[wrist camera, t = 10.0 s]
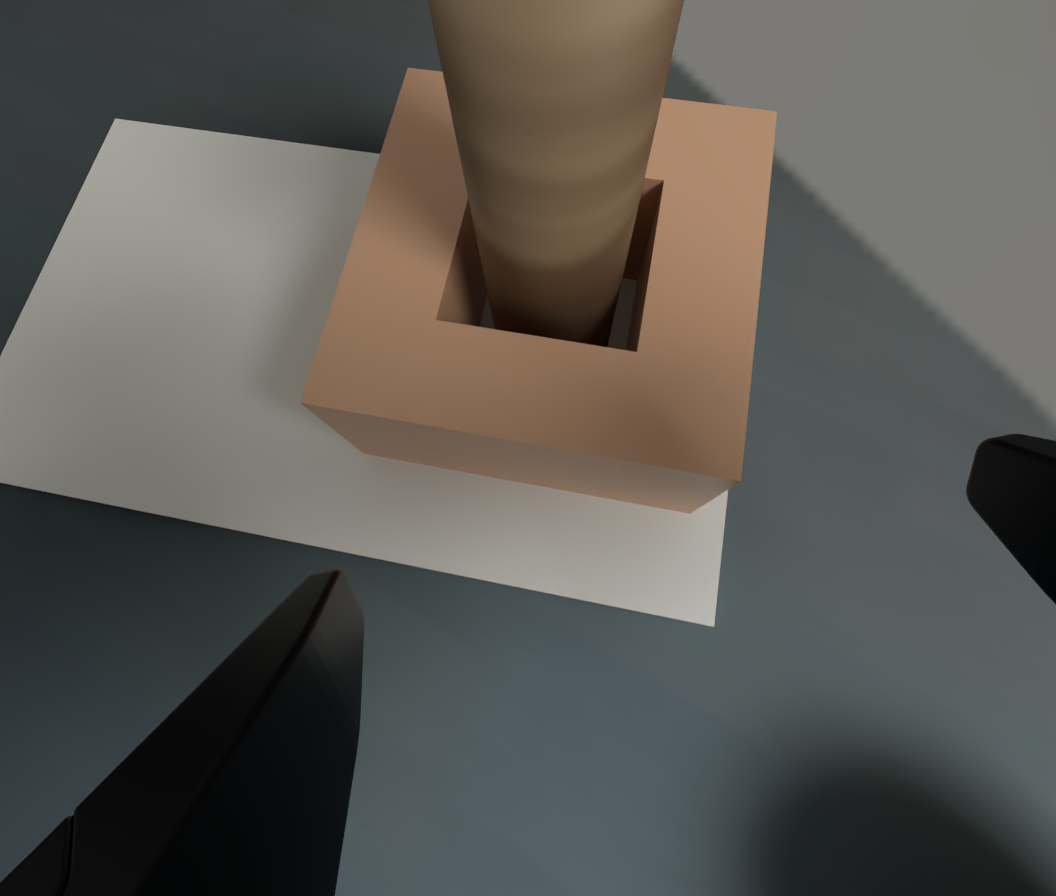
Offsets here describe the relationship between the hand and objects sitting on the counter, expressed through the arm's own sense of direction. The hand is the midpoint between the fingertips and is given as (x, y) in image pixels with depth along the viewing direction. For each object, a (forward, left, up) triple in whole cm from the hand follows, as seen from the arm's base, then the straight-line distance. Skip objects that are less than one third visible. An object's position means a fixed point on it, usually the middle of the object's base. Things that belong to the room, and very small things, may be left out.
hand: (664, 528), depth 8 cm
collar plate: (+6, +9, -9) cm, 14 cm away
